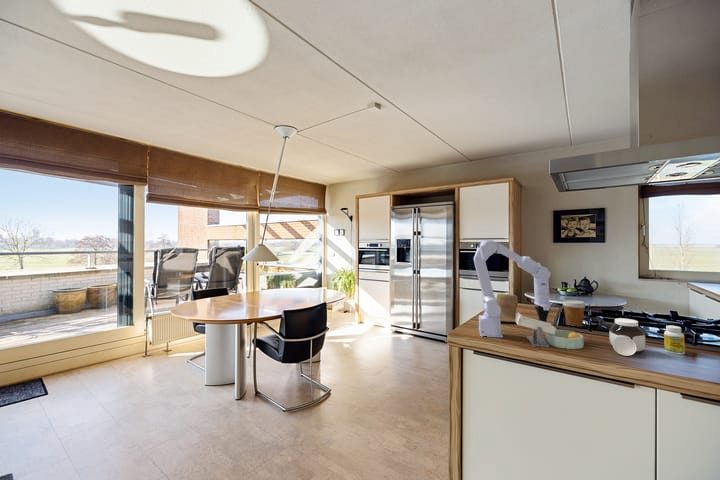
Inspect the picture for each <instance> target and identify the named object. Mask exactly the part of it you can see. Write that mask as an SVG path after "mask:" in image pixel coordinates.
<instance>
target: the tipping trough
mask: <svg viewBox="0 0 720 480" xmlns="http://www.w3.org/2000/svg"><path fill="white" fill-rule="evenodd" d="M514 323H516V325H518V326H523V327H526V328H529V329H532V330H533V329H536V331H538V327H541V328H542V332H544V333H546V332H547V333H551V334H555V330H557V327H554V326H552V323H551V322H550V323H549V322H547V321H546V322H543V321H539V319H534V318H532V317H527V316H523V315H522V314H521V313H520V312H518V311H516V317H515V322H514Z"/></svg>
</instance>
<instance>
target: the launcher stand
mask: <svg viewBox="0 0 720 480" xmlns="http://www.w3.org/2000/svg"><path fill="white" fill-rule="evenodd" d="M542 332H543V331H542V328H541V327H538V330H536V329H532V335H526V338H527V340H528V341H529V343H530V342H531V343H530V344H531V345H533V346H532V347H535V346H541V347H540V348H550V346H551V345H550V344H548V343H547V342H546V339H545V338H544V337H543V333H542Z"/></svg>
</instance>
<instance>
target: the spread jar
mask: <svg viewBox="0 0 720 480" xmlns="http://www.w3.org/2000/svg"><path fill="white" fill-rule="evenodd" d="M608 331H609V333H608V334H609V338H608V339H609V343H610V346H612V348H613V350H614V351H615V352H616V353H617V354H619V355H620V356H624V357H627V356H628V357H629V356H630V357H631V356H632V355H637V354H641V353H643V352H644V350H645V349H646V335H645V332H644V331H643V329H641V328H640V327H639V321H638V320H636V319H632V318H631V319H630V318H624V317H623V318H622V317H619V318H615V319H614V324H613V325H611V327H610V328H609V330H608Z"/></svg>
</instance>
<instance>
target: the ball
mask: <svg viewBox="0 0 720 480" xmlns="http://www.w3.org/2000/svg"><path fill="white" fill-rule="evenodd" d="M574 332H575V331H573V332H572V333H569V335H568V338H579V335H578V334H577V333H578V332H576V333H574Z"/></svg>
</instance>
